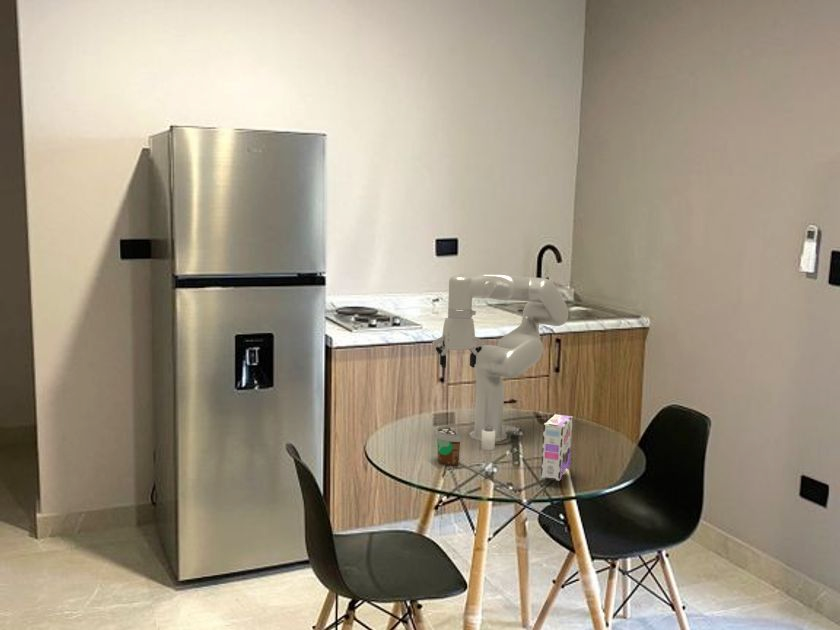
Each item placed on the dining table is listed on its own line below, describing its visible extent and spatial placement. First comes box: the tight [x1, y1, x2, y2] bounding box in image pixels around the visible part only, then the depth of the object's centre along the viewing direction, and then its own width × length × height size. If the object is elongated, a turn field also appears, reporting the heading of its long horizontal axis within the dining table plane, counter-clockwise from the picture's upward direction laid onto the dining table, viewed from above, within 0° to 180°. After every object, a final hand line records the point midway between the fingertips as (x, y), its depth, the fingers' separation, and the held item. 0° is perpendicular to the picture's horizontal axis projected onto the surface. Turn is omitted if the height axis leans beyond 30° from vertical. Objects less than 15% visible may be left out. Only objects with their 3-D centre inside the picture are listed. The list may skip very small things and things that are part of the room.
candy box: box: [540, 414, 573, 482], centre depth 253 cm, size 14×6×16 cm, turn 157°
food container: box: [434, 424, 462, 467], centre depth 261 cm, size 12×6×10 cm, turn 14°
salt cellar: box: [480, 426, 496, 451], centre depth 278 cm, size 4×4×7 cm
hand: (457, 366), depth 276 cm, fingers open, 9 cm apart
